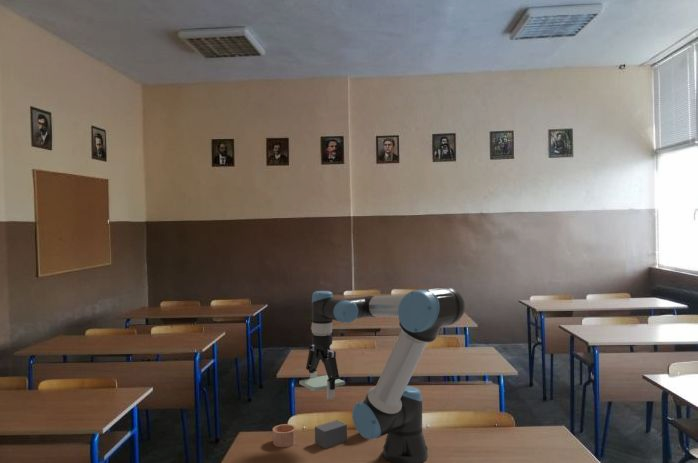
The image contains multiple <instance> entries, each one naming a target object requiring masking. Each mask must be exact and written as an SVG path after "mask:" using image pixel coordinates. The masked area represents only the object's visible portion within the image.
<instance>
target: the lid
mask: <svg viewBox="0 0 698 463" xmlns="http://www.w3.org/2000/svg"><path fill="white" fill-rule="evenodd" d="M327 380H328V376H327V374H326V375H322V376H321V375H320V376H317V377H315V378H310V377H309V378H306V379H301V380H299V385H301V386H303V387H305V388H307V389H309V390H310V389H311V390H313V391H312V392H318V391H319V392H320V391H324V390H327ZM345 385H346V381H345V380H342V379H340V378H339V379H337V380H335V388H336V387H340V386H345Z"/></svg>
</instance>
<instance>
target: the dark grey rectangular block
mask: <svg viewBox="0 0 698 463" xmlns="http://www.w3.org/2000/svg"><path fill="white" fill-rule="evenodd" d="M346 442H348V424H346V423H344V422H341V421H339V420H333V421H329V422H325V423H323V424H320V425H319V424H318V425H317V426H314V444H315V445H318V447H321V448H323V449H328V448H331V447H334V446H337V445H340V444H343V443H346Z"/></svg>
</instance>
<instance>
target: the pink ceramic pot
mask: <svg viewBox="0 0 698 463" xmlns="http://www.w3.org/2000/svg"><path fill="white" fill-rule="evenodd" d="M296 443H297V426H295V425H294V424H290V423H289V424H288V423H284V424H282V423H281V424H279V425H275V426H274V427H272V445H273V444H274V445H273V446H275V447H279V448H289V447H292V446H294V445H295V444H296Z"/></svg>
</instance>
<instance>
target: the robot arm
mask: <svg viewBox="0 0 698 463" xmlns="http://www.w3.org/2000/svg"><path fill="white" fill-rule="evenodd" d="M465 309H466V303H465V300H464V298H463V296H462V294H461V293H460V292H459V291H458V290H457V289H454V288H453V287H449V286H440V287H433V288H420V289H416V290H412V291H410V292H408V293H406V294H393V295H391V294H390V295H366V296H358V297H352V298H351V297H350V298H343V299H342V298H340V299H339V298H334V295H333V292H331V291H330V290H317V291H314V292H313V293H312V297H311V333H312V335H311V344H310V345H308V350H309V351H308V355H307V359H306V360H307V361H306V366H305V369H306V370H308V372H309V379H310V378H315V377H318V369H317V368H318V366H319V364H320V361H321V363H323V365H324V368H325V369H324V370H325V373H326V375H327V376H328V380H327V389H326V399H327V400H330V399H334V398H335V389H336V387H335V380H337V379H340V374H339V369H338V364H337V358H336V357H337V353H336V352H337V351H336V350H331V345H332V344H333V334H332V333H333V321H335V322H339V323H348V324H349V323H353V322H354V321H355V320H357V319H358V320H359V319H363V318H398V321H399V322H398V325H399V328H400V331H399V332H400V333H399V334H398V337H397V339H396V341H395V343H394V345H393V348H392V350H391V353H390V355H389V357H388V359H387V361H386V363H385V366H384V368H383V370H382V372H381V373H380V376H379V379H378V381H377V383H376V385H375V386H372V387H369V389H368V391H367V393H366V395H365V398H364V399H363V400H364V401H363V400H362V401H363V402H362V401H358V402H357V403H355V405H354V406H353V408H352V412H351V413H352V414H351V416H352V417H351V418H352V421H353V425H354V428H355V429H356V431H357V433H358V434H360V436H361V437H363V438H364V439H366V440H374V439H379V438H380V437H383V436H385V435H386V438H385V441H384V442H385V443H384V445H383V448H382V449H383V450H382V451H383V452H382V453H383V455H382V456H383V457H384V458H385V459H386V460H387V461H389V462H391V463H423V462H425V461H426V460H427V459H428V457H429V451H428V449H429V448H428V446H427V445H426V440H425V437H424V433H423V397H422V392H421V390H420V389H419V388H417V387H414V386H410V385H409V383H410V380H411V378H412V376H413V374H414V372H415V369H416V367H417V366H418V363H419V362H420V359H421V357H422V355H423V353H424V351H425V349H426V347H427V344H429V343H433V342H434V341H436V338H437V337H438V334H439V332H440V330H441V328H442V327H447V326H451V325H454V324H456V323H457V322H459V321H460V320H461V318H463V315H464V313H465ZM309 391H310V392H314V391H313V390H311V389H309Z"/></svg>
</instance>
